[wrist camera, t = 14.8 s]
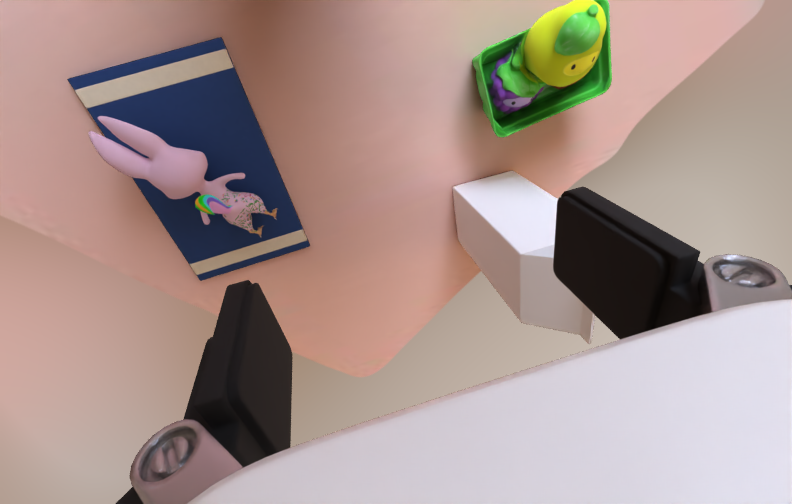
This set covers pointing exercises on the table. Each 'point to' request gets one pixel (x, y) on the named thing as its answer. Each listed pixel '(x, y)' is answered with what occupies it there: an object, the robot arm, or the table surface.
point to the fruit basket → (546, 67)
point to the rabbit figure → (176, 173)
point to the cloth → (208, 133)
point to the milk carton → (519, 250)
